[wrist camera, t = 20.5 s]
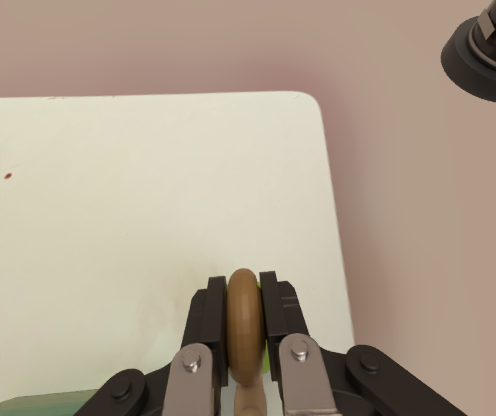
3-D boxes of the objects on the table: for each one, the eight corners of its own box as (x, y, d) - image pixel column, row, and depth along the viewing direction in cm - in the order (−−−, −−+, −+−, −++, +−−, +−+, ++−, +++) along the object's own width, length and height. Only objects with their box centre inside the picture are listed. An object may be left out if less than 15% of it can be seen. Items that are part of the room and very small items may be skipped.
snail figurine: (212, 389, 17) (138, 518, 6) (209, 288, 20) (153, 251, 9) (293, 380, 17) (365, 492, 6) (279, 282, 20) (314, 236, 9)
